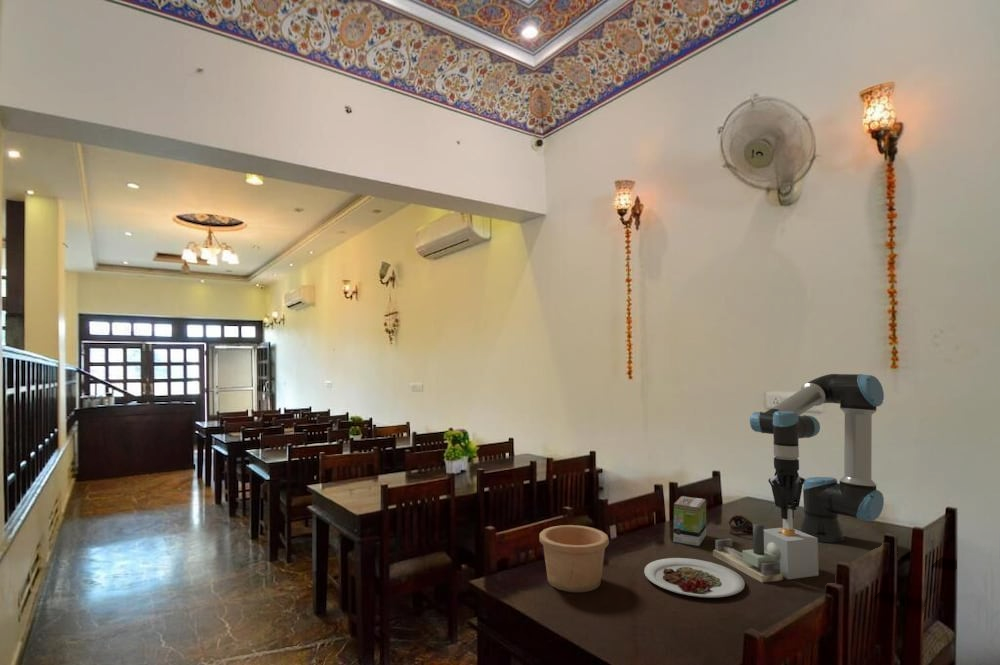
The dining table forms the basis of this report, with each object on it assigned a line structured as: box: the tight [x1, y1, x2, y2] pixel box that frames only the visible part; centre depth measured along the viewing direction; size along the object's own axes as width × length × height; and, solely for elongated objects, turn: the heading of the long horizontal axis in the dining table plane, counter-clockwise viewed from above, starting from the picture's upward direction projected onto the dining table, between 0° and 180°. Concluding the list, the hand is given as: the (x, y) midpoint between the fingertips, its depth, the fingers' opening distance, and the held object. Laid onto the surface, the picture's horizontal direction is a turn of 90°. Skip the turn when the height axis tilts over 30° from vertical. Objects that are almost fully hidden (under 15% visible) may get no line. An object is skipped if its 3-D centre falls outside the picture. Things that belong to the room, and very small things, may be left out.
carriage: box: [741, 523, 776, 567], centre depth 176 cm, size 7×7×12 cm
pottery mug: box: [727, 514, 753, 534], centre depth 218 cm, size 12×10×8 cm
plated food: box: [643, 557, 746, 598], centre depth 171 cm, size 30×30×3 cm
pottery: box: [538, 524, 610, 594], centre depth 170 cm, size 22×22×14 cm
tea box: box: [673, 495, 707, 547], centre depth 211 cm, size 15×10×15 cm
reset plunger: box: [780, 527, 795, 537], centre depth 179 cm, size 4×4×8 cm
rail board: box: [712, 537, 784, 584], centre depth 182 cm, size 8×24×6 cm, turn 15°
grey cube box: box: [764, 527, 820, 580], centre depth 179 cm, size 12×12×12 cm
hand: (787, 528), depth 179 cm, fingers closed
